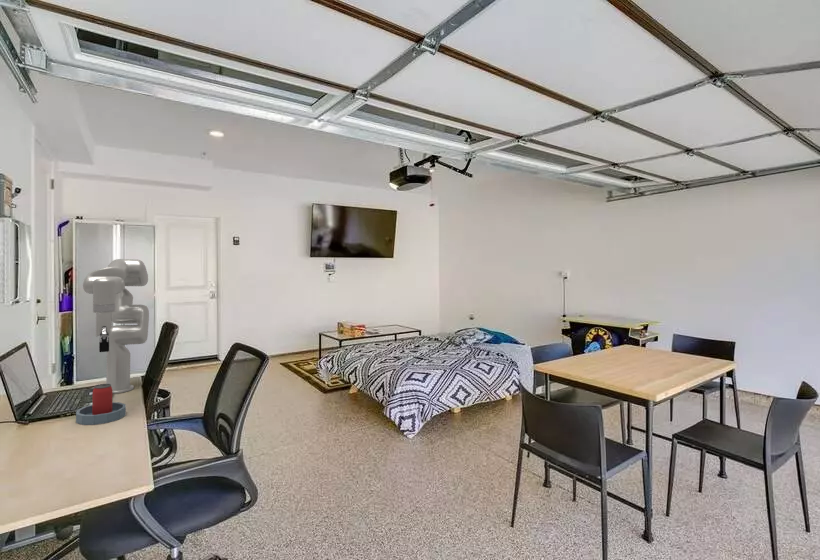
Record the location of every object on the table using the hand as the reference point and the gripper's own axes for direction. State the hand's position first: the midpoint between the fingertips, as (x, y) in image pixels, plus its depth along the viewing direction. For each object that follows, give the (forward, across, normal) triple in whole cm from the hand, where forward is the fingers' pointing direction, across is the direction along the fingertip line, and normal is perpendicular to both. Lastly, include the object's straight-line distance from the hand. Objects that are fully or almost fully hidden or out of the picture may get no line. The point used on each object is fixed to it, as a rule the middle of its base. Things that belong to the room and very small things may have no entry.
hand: (104, 349), depth 176 cm
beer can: (+25, +8, -1) cm, 27 cm away
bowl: (+26, +8, -1) cm, 27 cm away
